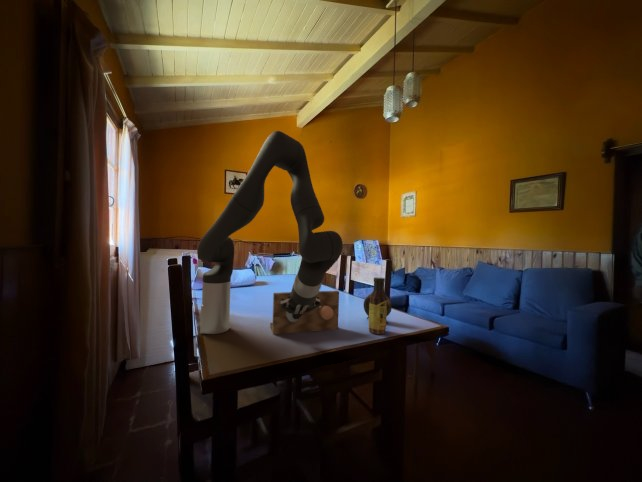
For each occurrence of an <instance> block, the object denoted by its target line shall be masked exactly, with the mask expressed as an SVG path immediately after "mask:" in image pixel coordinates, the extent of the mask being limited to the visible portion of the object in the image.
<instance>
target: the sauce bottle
mask: <svg viewBox="0 0 642 482" xmlns="http://www.w3.org/2000/svg"><path fill="white" fill-rule="evenodd" d="M385 283H386V279H385V278H384V277H373V290H372V292H371V293H370V294H371V295H370V294H369V295H370V305H369V318H368V331H369V333H371V334H373V335H374V334H375V335H383V334H385V333H386V329H387V323H386V320H387V317H386V315H387V298H386V296H387V294H386V292H385Z"/></svg>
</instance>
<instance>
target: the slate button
mask: <svg viewBox="0 0 642 482" xmlns="http://www.w3.org/2000/svg"><path fill="white" fill-rule="evenodd" d="M286 317H287V318H288V320H289V321H291V322H296V321H297V320H298V319H294V318H293V317H292V313H291V314H290V313H288V312H287V311H286Z"/></svg>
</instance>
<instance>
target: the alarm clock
mask: <svg viewBox="0 0 642 482" xmlns="http://www.w3.org/2000/svg"><path fill="white" fill-rule="evenodd" d="M370 295H371V293H370V294H368V295H367V296H366V297H365V298H364V300H363V310H364V312H365V314H366V315H367V317H366V319H367V320H369V305H370ZM386 298H387V315H386V318H387V317H388V316H389V315H390V314H391V312H392V308H393V307H392V301H391V300H390V297H388V296H387V295H386ZM388 323H389V322H388V320H387V319H386V324H388Z"/></svg>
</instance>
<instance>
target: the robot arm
mask: <svg viewBox="0 0 642 482" xmlns="http://www.w3.org/2000/svg"><path fill="white" fill-rule="evenodd" d="M274 167H277V168H279V169H281V170H283V171H286V172H287V173H288V174H289V177H290V178H291V180H292V189H291V192H290V205H291V210H292V212H293V215H294V217H295V220H296V224H297V230H298V249H299V250H298V251H299V254H300V257H301V258H302V260H301V262H300V265H299V268H298V270H297V271H298V272H297V273H296V276H295V278H294V281H293V283H292V287H291V291H290V292H291V294H290V295H289V296H288V299H286V300H285V299H281V300H280V301H281V307H282V308H283V309H284V310H286V311H287V312H288V313H290V314H291V313H292V317H293V318H294V319H299V318H300V317H301V315H302V314H303V312H306V313H307V312H310V311H311V310H313V309H315V308H316V307H318V306H320V305H321V302H320V298H319V297H317V295H318V292H319V291H321V287H322V283H323V280H324V277H325V275H326V273H327V272H328V271H329V270H330V269H331V268H333V266H334V265H335V264H336V263H337V261H338V260H339V259H340V257H341V254H342V252H343V248H344V247H343V246H344V245H343V243H344V242H343V239H342V236H341V235H340V234H339V233H338V232H336V231H333V230H324V231H316V232H315V231H314V230H316V229H318V228H320V227H321V226H322V225H324V222H325V216H324V213H323V210H322V208H321V204H320V203H319V200H318V198H317V195H316V193H315V189H314V186H313V183H312V178H311V172H310V168H309V164H308V159H307V155H306V150H305V147H304V146H303V145H302V143H301V142H300V141H298V140H297V139H295V138H293V137H291V136H290V135H289V134H286V133H284V132H283V131H280V130H275V131H273V132H271V134H269V135H268V136H267V138H266V139H265V141H264V143H262V146H261V147H260V150H259V151H258V154H257V156H256V157H255V159H254V161H253V163H252V165H251V167H250V169H249V170H248V172H247V174H246V176H245V177H244V179H243V180H242V182H241V183H240V185H239V186H238V188H237V189H236V191H235V192H234V193H233V194H232V196H231V197H230V199H229V200H228V203H227V204H226V206H225V207H224V209H223V211H222V212H221V214H220V215H219V216H218V218H217V219H216V220H215V222H214V224H213V225H211V227H210V228H209V229H208V230H207V231H206V232H205V233H204V235H203V236H202V238H201V239H200V241H199V243H198V246H197V249H196V252H197V253H196V254H197V257H198V258H199V260H200V261H202V262H204V263H215V264H214V266H213V267H212V268H211V269H210V270H208V271H205V272H204V273H203V274H202V288H201V291H202V292H201V295H202V298H201V299H202V300H201V305H200V331H199V333H200V334H207V335H217V334H218V335H219V334H222V333H225V332H227V331H229V330H230V320H231V319H230V316H231V315H230V313H231V312H230V311H231V278H232V275H233V272H234V262H235V244H234V242H233V239H232V238H231V237H230V236H231V235H233V234H235V233H236V232H237V231H240V230H242V229H243V228H244V227H246V226H247V225H249V224H250V223H251V222H252V221H253V220H254V219H255V217H256V216H257V214H258V213H259V212H260V211H261V209H262V208H263V206H264V204H265V203H264V202H265V184H266V179H267V177H268V176H269V174H270V172H271V171H272V170H273V168H274ZM313 231H314V232H313ZM309 305H310V308H309V307H308V306H309Z"/></svg>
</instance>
